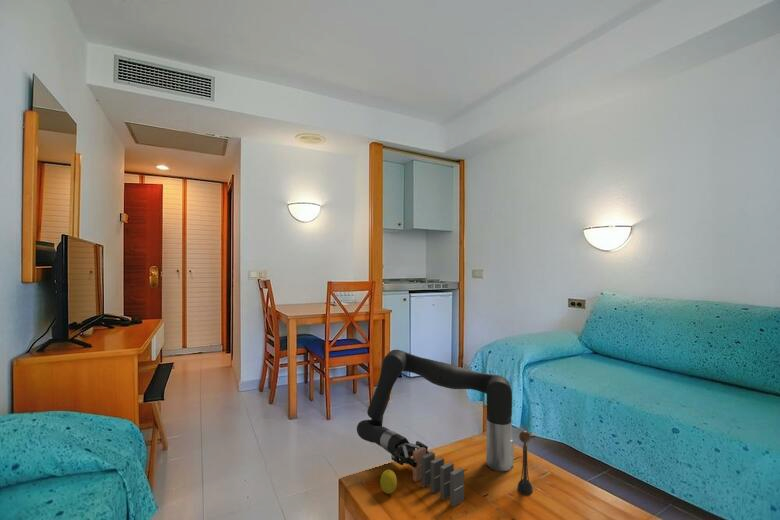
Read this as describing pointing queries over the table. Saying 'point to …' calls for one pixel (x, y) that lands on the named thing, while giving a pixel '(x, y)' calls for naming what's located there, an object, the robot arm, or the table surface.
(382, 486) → the lemon
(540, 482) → the table surface
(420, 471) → the terracotta domino
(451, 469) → the charcoal domino
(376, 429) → the robot arm
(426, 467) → the charcoal domino
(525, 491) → the wooden tabletop sculpture
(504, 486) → the table surface
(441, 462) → the charcoal domino
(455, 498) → the charcoal domino
